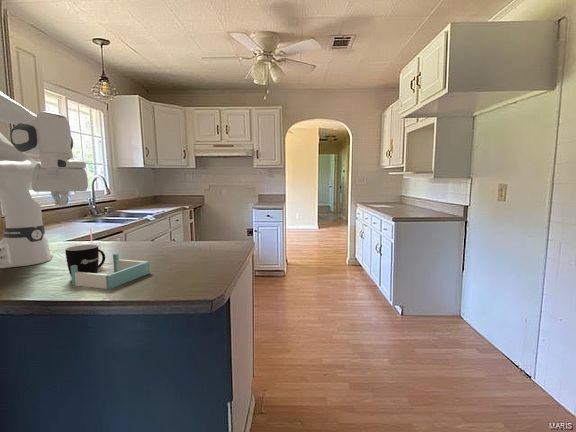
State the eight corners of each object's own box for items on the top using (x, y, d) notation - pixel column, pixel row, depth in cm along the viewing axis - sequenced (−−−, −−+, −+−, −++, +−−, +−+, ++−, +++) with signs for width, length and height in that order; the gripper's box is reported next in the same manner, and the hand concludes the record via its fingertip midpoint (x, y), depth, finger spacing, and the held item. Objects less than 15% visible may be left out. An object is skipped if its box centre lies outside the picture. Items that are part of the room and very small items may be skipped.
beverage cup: (85, 269, 116) (82, 230, 115) (82, 266, 121) (79, 228, 119) (104, 266, 120) (101, 228, 119) (100, 263, 125) (98, 227, 124)
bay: (72, 285, 98) (70, 265, 98) (116, 270, 115) (115, 253, 114) (109, 289, 94) (107, 269, 94) (150, 273, 111) (149, 255, 110)
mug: (79, 283, 100) (77, 251, 99) (61, 280, 104) (58, 248, 103) (114, 273, 111) (112, 244, 110) (97, 270, 115) (94, 242, 114)
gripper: (23, 163, 106) (28, 206, 108) (72, 161, 100) (76, 206, 102) (43, 164, 112) (47, 204, 114) (89, 162, 106) (93, 205, 108)
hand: (61, 205), depth 108 cm, fingers closed
